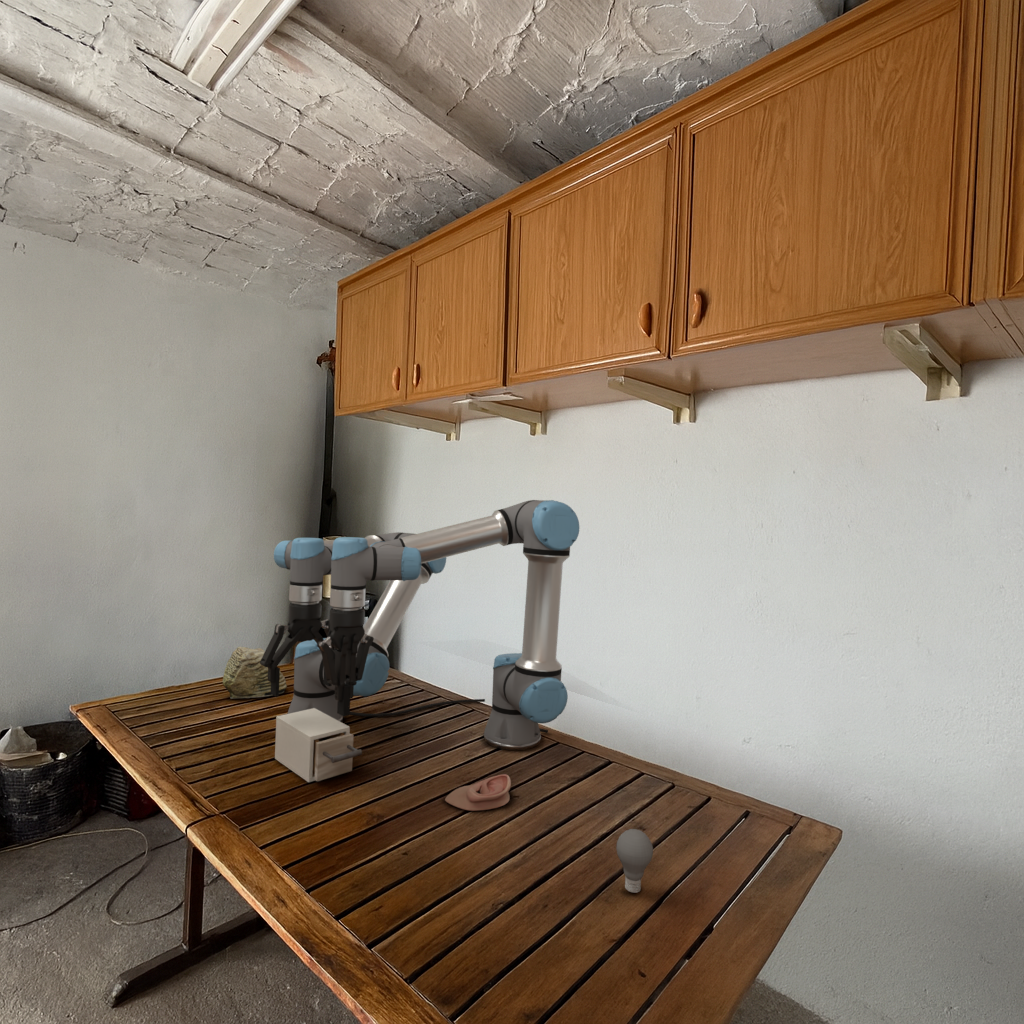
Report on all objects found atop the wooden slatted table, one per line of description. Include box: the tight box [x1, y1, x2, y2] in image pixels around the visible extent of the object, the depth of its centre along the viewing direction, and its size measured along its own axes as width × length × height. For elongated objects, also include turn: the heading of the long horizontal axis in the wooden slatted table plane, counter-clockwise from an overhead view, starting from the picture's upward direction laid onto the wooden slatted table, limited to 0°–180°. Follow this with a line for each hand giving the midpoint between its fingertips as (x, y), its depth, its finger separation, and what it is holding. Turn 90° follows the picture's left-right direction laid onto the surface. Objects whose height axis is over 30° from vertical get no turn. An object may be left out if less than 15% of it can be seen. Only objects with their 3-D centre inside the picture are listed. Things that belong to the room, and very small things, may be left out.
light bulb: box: [615, 828, 654, 894], centre depth 106 cm, size 6×6×10 cm
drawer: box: [313, 733, 363, 782], centre depth 145 cm, size 21×9×8 cm, turn 46°
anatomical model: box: [444, 773, 512, 812], centre depth 136 cm, size 13×4×12 cm
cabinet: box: [274, 708, 351, 783], centre depth 149 cm, size 17×10×10 cm, turn 46°
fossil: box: [222, 646, 288, 699], centre depth 198 cm, size 9×18×15 cm, turn 132°
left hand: (301, 689), depth 153 cm, fingers open, 13 cm apart
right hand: (343, 713), depth 140 cm, fingers closed
